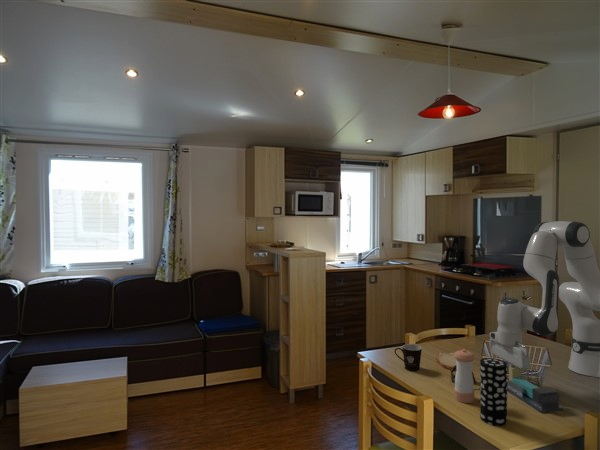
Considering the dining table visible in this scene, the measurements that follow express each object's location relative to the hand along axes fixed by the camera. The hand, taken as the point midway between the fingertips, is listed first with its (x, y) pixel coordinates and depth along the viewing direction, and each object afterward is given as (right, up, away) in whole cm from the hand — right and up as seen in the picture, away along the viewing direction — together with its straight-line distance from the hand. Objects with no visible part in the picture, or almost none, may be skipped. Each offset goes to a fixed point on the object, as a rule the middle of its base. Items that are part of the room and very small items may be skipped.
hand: (509, 371), depth 163 cm
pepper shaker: (-23, -6, -11) cm, 27 cm away
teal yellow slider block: (+2, -4, -9) cm, 10 cm away
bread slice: (-14, -6, +26) cm, 30 cm away
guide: (+2, -6, -10) cm, 12 cm away
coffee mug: (-36, -6, +20) cm, 41 cm away
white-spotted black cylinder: (-20, -7, -27) cm, 34 cm away
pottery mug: (-17, -6, +5) cm, 19 cm away
